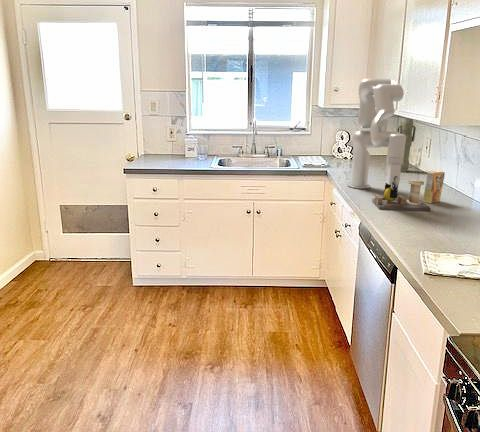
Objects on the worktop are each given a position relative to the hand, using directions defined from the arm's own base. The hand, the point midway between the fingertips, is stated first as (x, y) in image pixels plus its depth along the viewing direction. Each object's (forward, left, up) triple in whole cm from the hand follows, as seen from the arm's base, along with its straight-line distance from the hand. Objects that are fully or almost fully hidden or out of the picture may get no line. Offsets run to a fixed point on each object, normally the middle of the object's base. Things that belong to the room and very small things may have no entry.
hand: (390, 195), depth 221 cm
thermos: (-91, +33, -6) cm, 97 cm away
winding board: (0, +6, -5) cm, 8 cm away
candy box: (-11, +25, -6) cm, 27 cm away
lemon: (0, 0, -4) cm, 4 cm away
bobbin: (0, +12, -4) cm, 12 cm away
